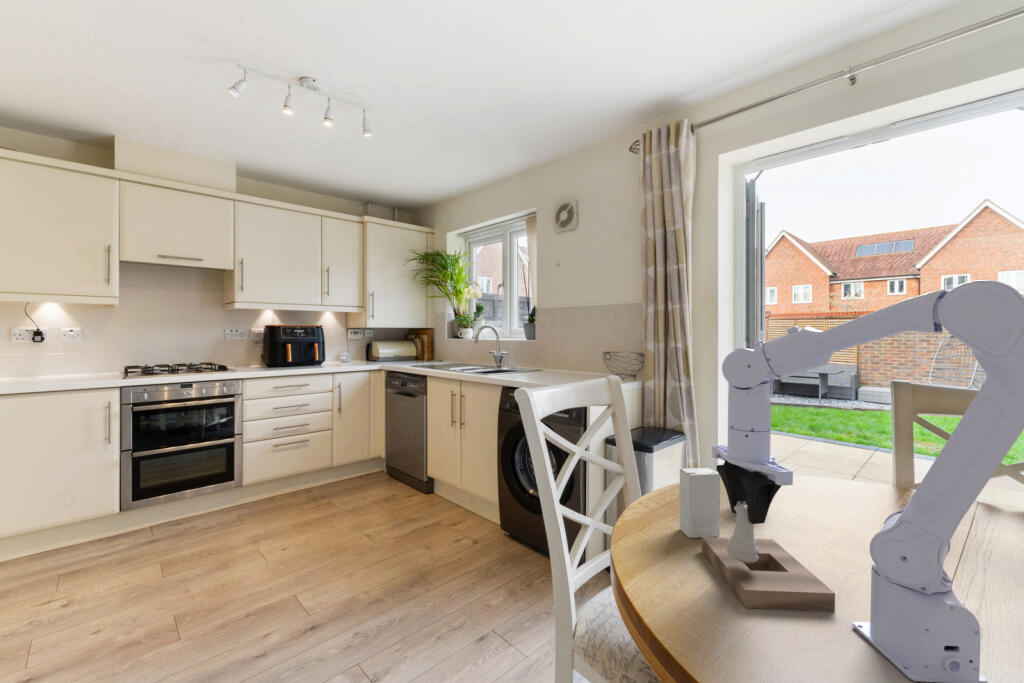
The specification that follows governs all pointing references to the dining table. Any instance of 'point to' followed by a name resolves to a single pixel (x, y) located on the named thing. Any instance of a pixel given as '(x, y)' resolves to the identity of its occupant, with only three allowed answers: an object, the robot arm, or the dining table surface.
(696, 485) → the skincare box
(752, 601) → the socket board
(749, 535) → the rook chess piece
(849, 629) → the dining table surface
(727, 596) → the dining table surface
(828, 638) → the dining table surface
